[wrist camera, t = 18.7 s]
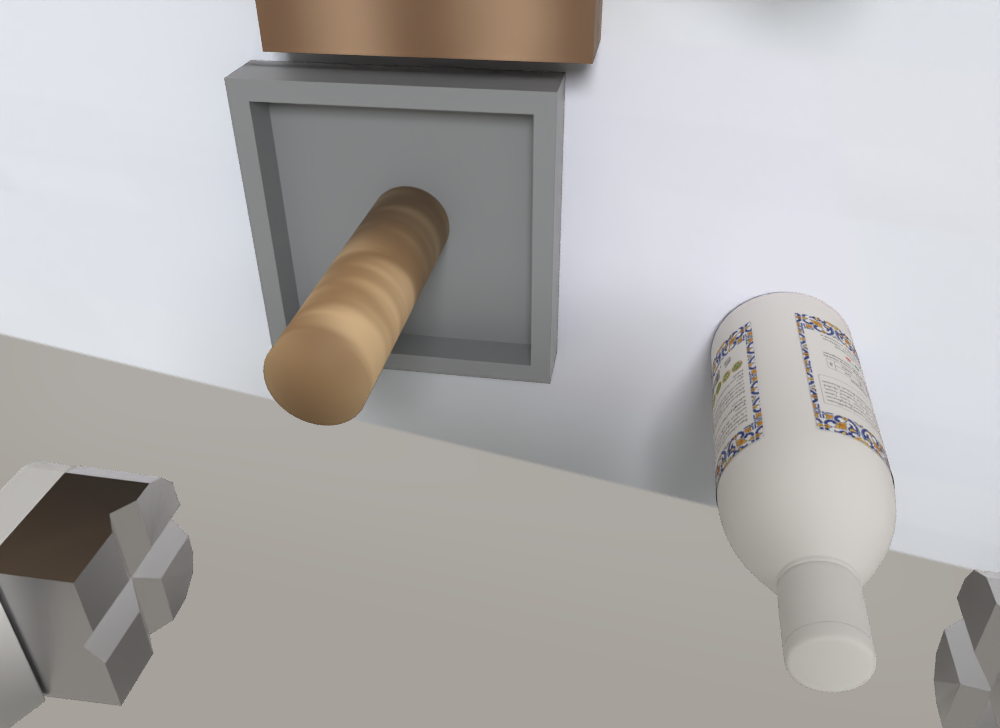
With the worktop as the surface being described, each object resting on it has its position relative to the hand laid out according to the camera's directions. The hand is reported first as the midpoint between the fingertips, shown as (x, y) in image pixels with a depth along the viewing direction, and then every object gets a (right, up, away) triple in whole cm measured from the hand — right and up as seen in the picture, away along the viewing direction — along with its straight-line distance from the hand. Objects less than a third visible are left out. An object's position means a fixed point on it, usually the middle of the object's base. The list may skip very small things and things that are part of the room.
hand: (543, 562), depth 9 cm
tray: (-5, +10, +36) cm, 38 cm away
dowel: (-5, +9, +35) cm, 37 cm away
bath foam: (+14, +3, +37) cm, 40 cm away
